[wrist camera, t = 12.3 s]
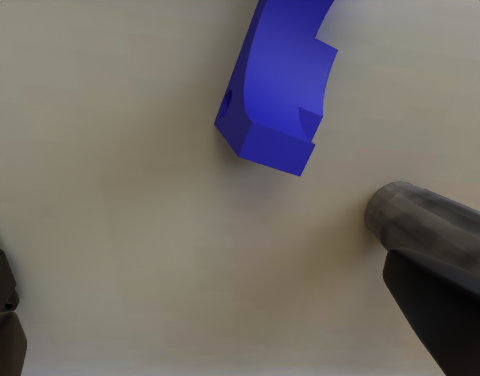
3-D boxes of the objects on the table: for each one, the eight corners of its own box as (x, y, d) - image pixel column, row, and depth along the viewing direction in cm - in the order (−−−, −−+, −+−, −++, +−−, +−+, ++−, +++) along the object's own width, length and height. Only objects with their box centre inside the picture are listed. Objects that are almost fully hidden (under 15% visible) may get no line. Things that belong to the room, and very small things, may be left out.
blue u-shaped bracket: (281, 147, 20) (327, 185, 14) (214, 123, 18) (238, 156, 13) (377, -71, 16) (485, -125, 11) (303, -124, 15) (388, -219, 9)
